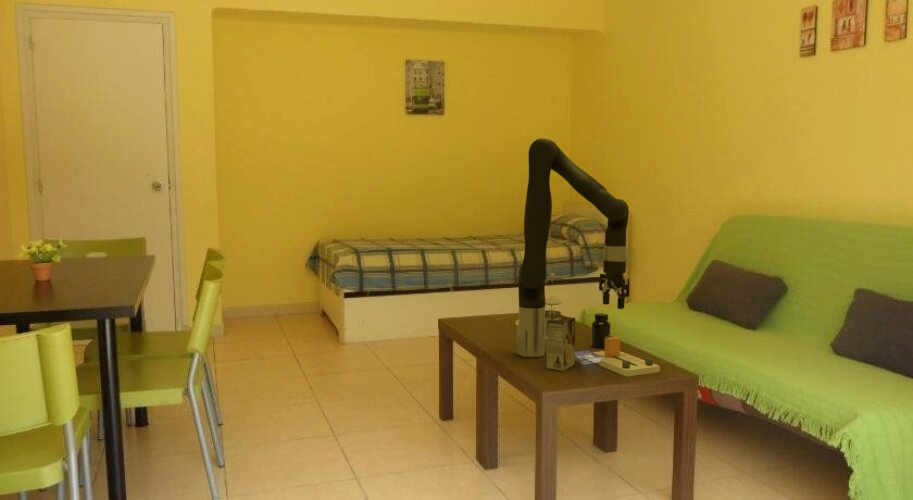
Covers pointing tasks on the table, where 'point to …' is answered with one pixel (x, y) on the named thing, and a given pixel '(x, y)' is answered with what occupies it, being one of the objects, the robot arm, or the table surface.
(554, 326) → the coffee box
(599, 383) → the table surface
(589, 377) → the table surface
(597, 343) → the supplement bottle
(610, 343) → the fader cap
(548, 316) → the french press
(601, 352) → the console
